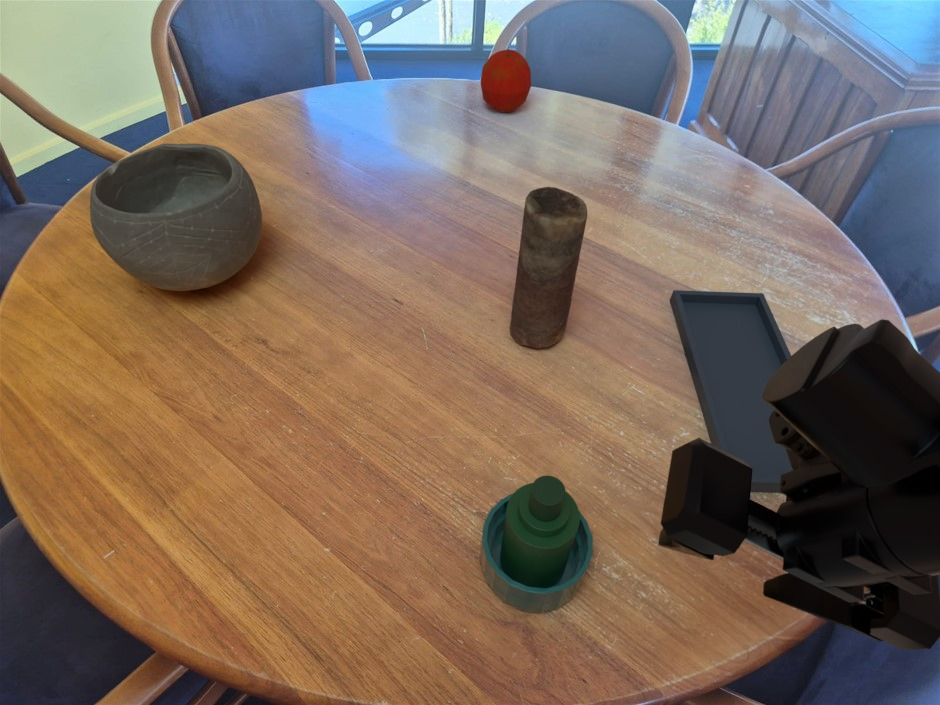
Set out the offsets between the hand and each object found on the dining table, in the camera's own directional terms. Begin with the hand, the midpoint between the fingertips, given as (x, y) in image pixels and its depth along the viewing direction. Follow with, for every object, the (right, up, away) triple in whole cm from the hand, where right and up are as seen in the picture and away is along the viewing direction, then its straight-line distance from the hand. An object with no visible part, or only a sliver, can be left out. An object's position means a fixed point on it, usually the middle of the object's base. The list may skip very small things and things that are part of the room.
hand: (713, 564), depth 46 cm
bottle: (-12, -5, +15) cm, 20 cm away
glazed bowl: (-12, -5, +15) cm, 20 cm away
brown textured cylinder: (-9, +18, +37) cm, 43 cm away
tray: (+16, +12, +32) cm, 37 cm away
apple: (-11, +66, +82) cm, 105 cm away
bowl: (-57, +28, +44) cm, 78 cm away
